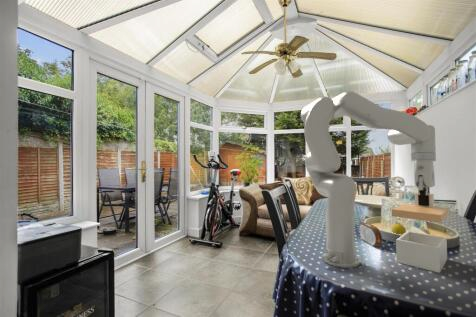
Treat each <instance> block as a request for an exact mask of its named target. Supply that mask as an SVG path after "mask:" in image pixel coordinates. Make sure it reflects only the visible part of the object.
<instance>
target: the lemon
mask: <svg viewBox="0 0 476 317" xmlns="http://www.w3.org/2000/svg"><path fill="white" fill-rule="evenodd" d="M392 232H393V233H396V234H401V235H403V234H404V233H405V232H407V230H406V228H405V226H404V225H402V224H400V223H398V222H397V223H396V224H394V225H393V226H392V228H391V233H392Z"/></svg>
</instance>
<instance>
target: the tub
mask: <svg viewBox="0 0 476 317" xmlns="http://www.w3.org/2000/svg"><path fill="white" fill-rule="evenodd" d="M447 240H448V239H447V236H446V237H445V236H440V235H434V234H427V233H421V232H415V231H411V230H406V232H405V233H404V234H403V235H401V236H400V237H399V238H397V239H395V244H396V245H395V253H396V254H395V258H396V262H397V263H399V264H404V265H406V266H407V265H408V266H411V267H415V268H419V269H422V270H425V271H431V272H435V273H439V274H440V273H441V272H442V270H443V268H444V266H445V265H446V262H447V260H448V247H447V246H448V242H447Z"/></svg>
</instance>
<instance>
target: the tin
mask: <svg viewBox="0 0 476 317" xmlns="http://www.w3.org/2000/svg"><path fill="white" fill-rule="evenodd" d="M358 230H359V236H360V238H361V239H362V241H364V242H365V243H366V244H368V245H370V246H371V247H381V246H382V244H383V237H382V233H381V231H380V229H379V228H378V227H377V226H375V225H373V224H371V223H370V222H367V221H366V222H361V223H359V225H358Z"/></svg>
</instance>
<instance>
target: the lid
mask: <svg viewBox="0 0 476 317" xmlns="http://www.w3.org/2000/svg"><path fill="white" fill-rule="evenodd" d="M428 195H429V206H421V205H418V192H415V193H414V204H412V203H411V204H410V203H403V204H400V205H398V206H395V207H394V208H391V217H395V218H403V219H411V220H416V221H417V220H418V221H426V222H433V223H440V224H442V223H443V222H444V221H446V219H447V218H448V217H449V216H450V207H443V206H435V194H434V193H430V194H428Z"/></svg>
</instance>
